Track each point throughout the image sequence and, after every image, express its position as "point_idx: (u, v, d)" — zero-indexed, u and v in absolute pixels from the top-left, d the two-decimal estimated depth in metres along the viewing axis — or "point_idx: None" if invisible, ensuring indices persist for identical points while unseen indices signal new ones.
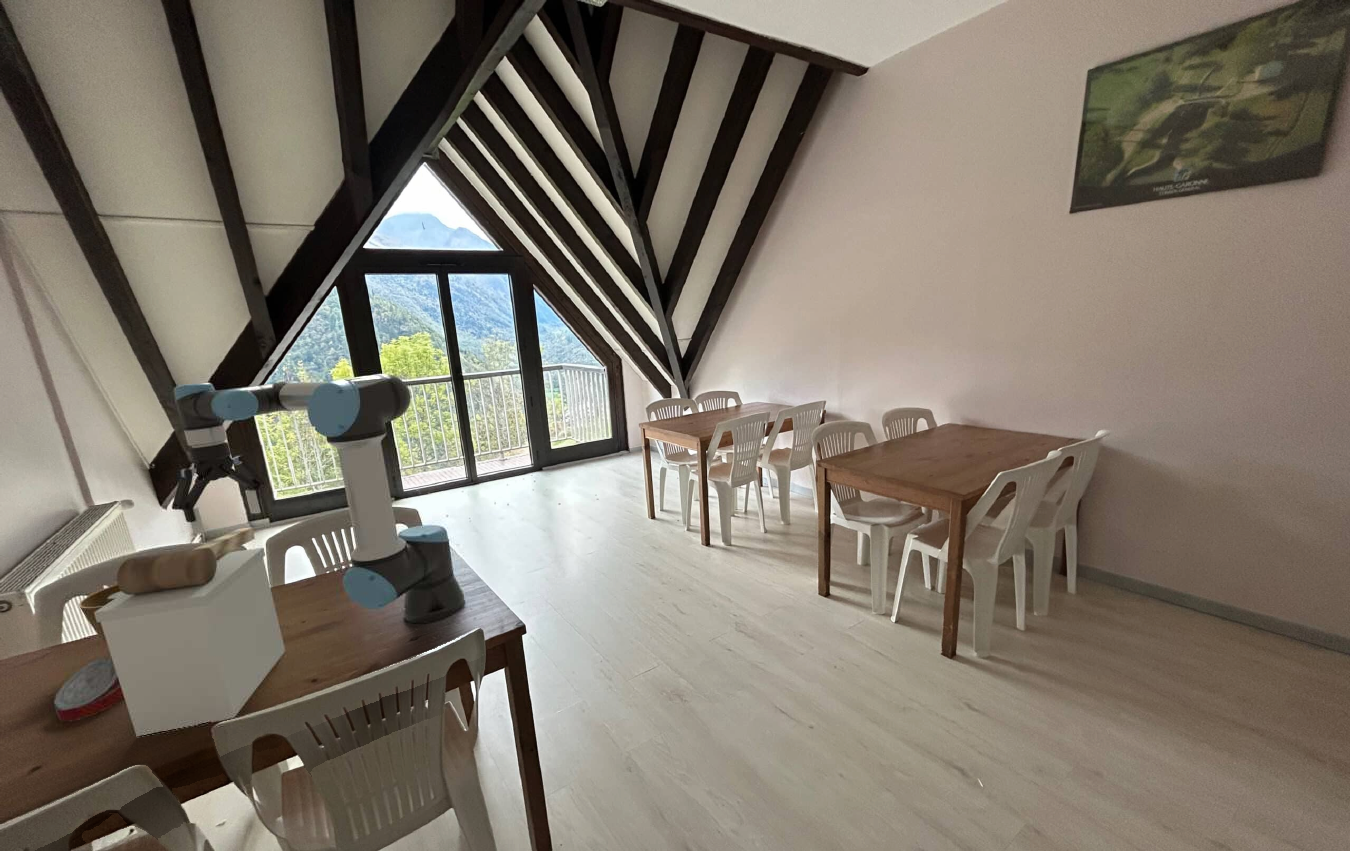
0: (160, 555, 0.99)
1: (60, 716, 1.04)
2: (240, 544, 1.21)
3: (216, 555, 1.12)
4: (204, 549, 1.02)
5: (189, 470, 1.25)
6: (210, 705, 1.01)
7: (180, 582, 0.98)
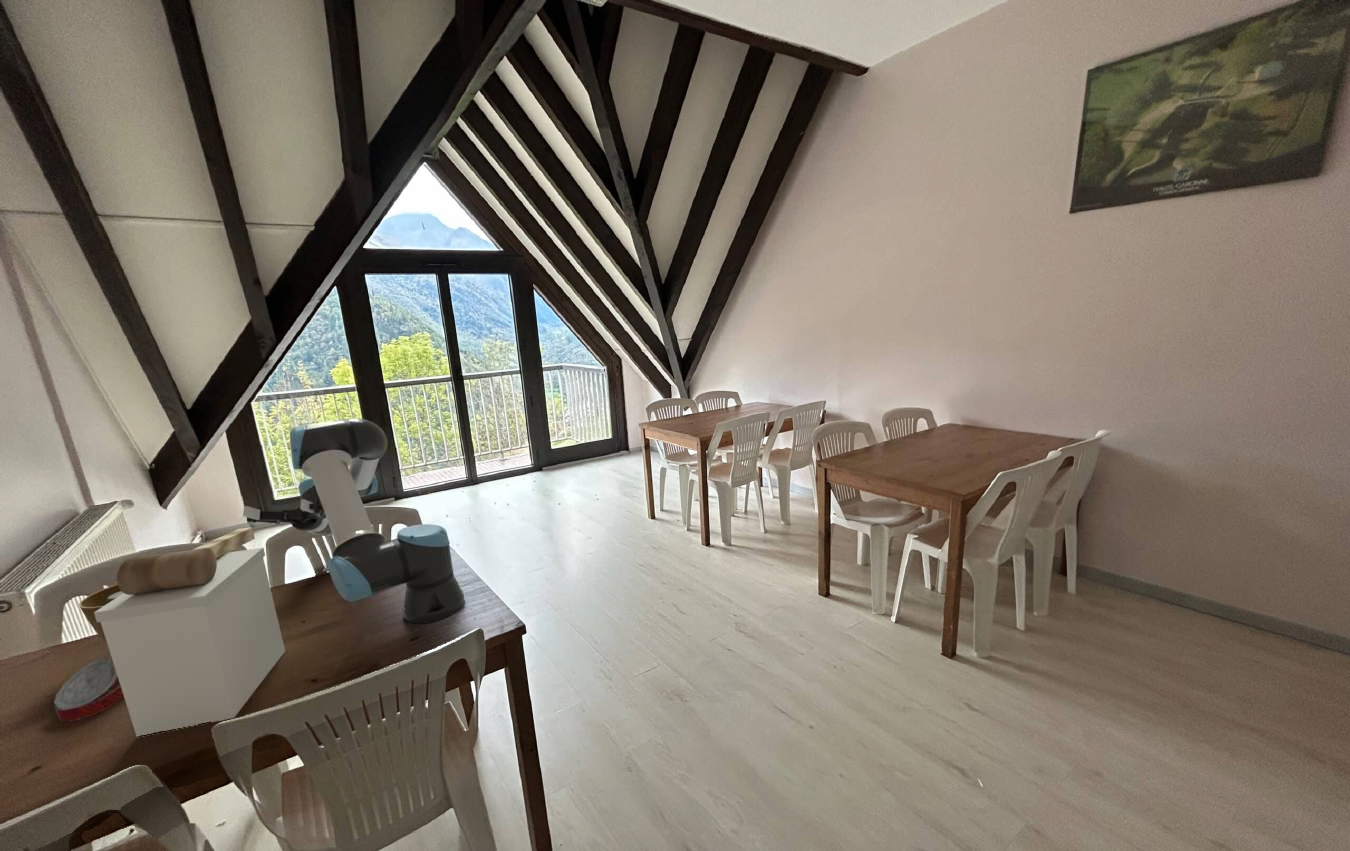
0: (160, 555, 0.99)
1: (60, 716, 1.04)
2: (240, 544, 1.21)
3: (216, 555, 1.12)
4: (204, 549, 1.02)
5: None
6: (210, 705, 1.01)
7: (180, 582, 0.98)
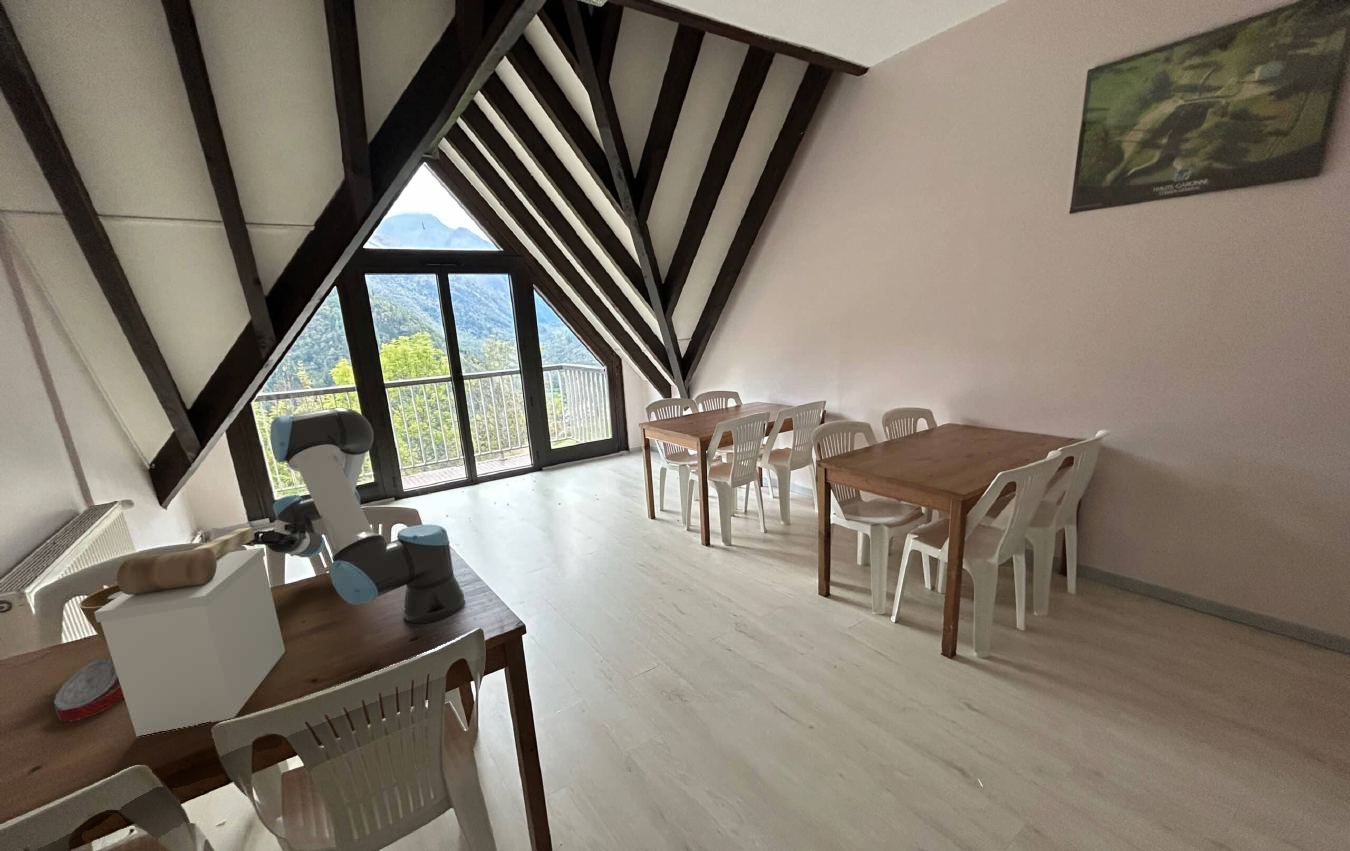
0: (160, 555, 0.99)
1: (60, 716, 1.04)
2: (240, 544, 1.21)
3: (216, 555, 1.12)
4: (204, 549, 1.02)
5: None
6: (210, 705, 1.01)
7: (180, 582, 0.98)
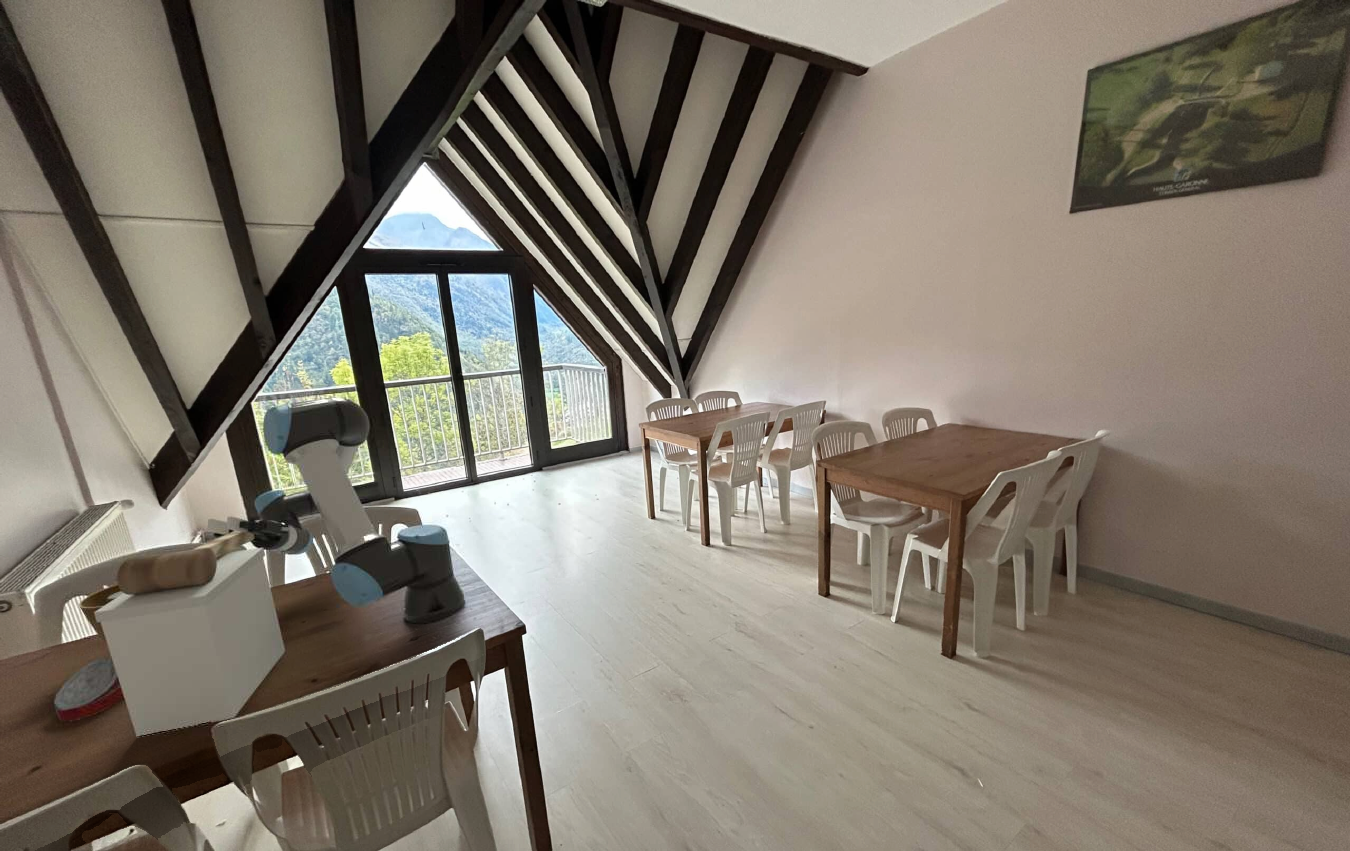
0: (160, 555, 0.99)
1: (60, 716, 1.04)
2: (240, 544, 1.21)
3: (216, 555, 1.12)
4: (204, 549, 1.02)
5: None
6: (210, 705, 1.01)
7: (180, 582, 0.98)
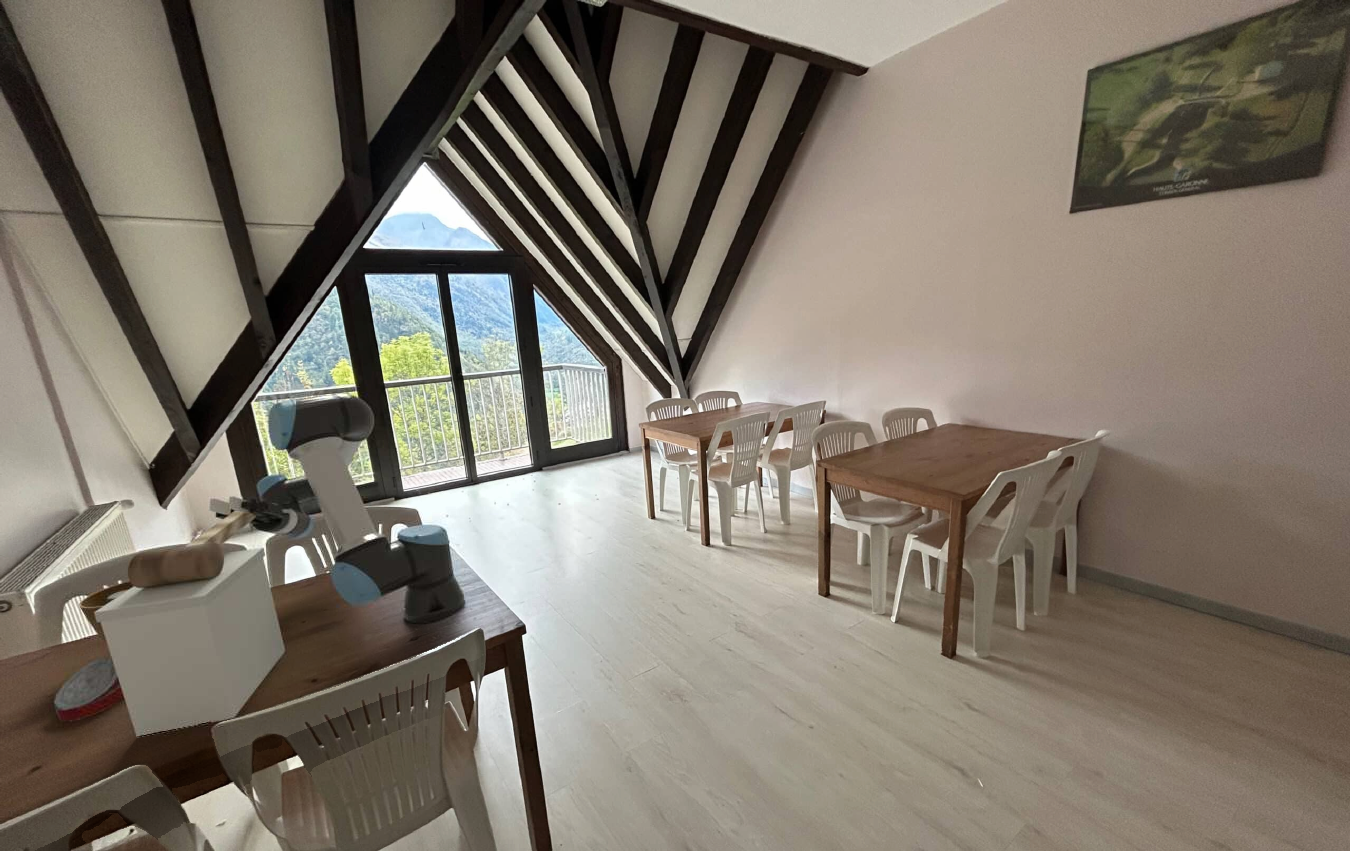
0: (167, 551, 1.01)
1: (60, 716, 1.04)
2: (243, 525, 1.23)
3: (221, 541, 1.14)
4: (210, 544, 1.04)
5: None
6: (210, 705, 1.01)
7: (191, 577, 1.01)
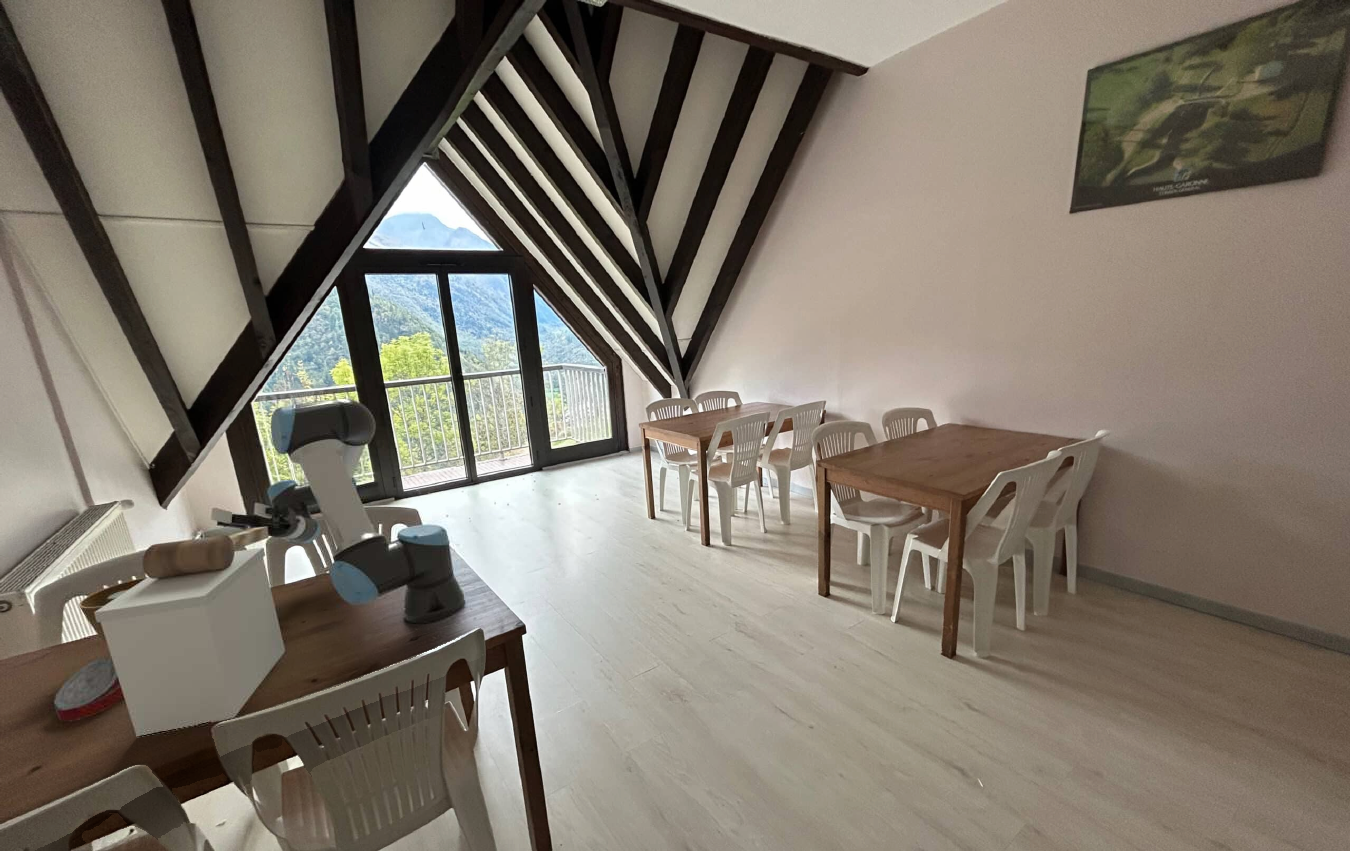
0: (183, 541, 1.06)
1: (60, 716, 1.04)
2: (255, 541, 1.27)
3: (233, 547, 1.18)
4: (224, 536, 1.08)
5: None
6: (210, 705, 1.01)
7: (201, 566, 1.04)
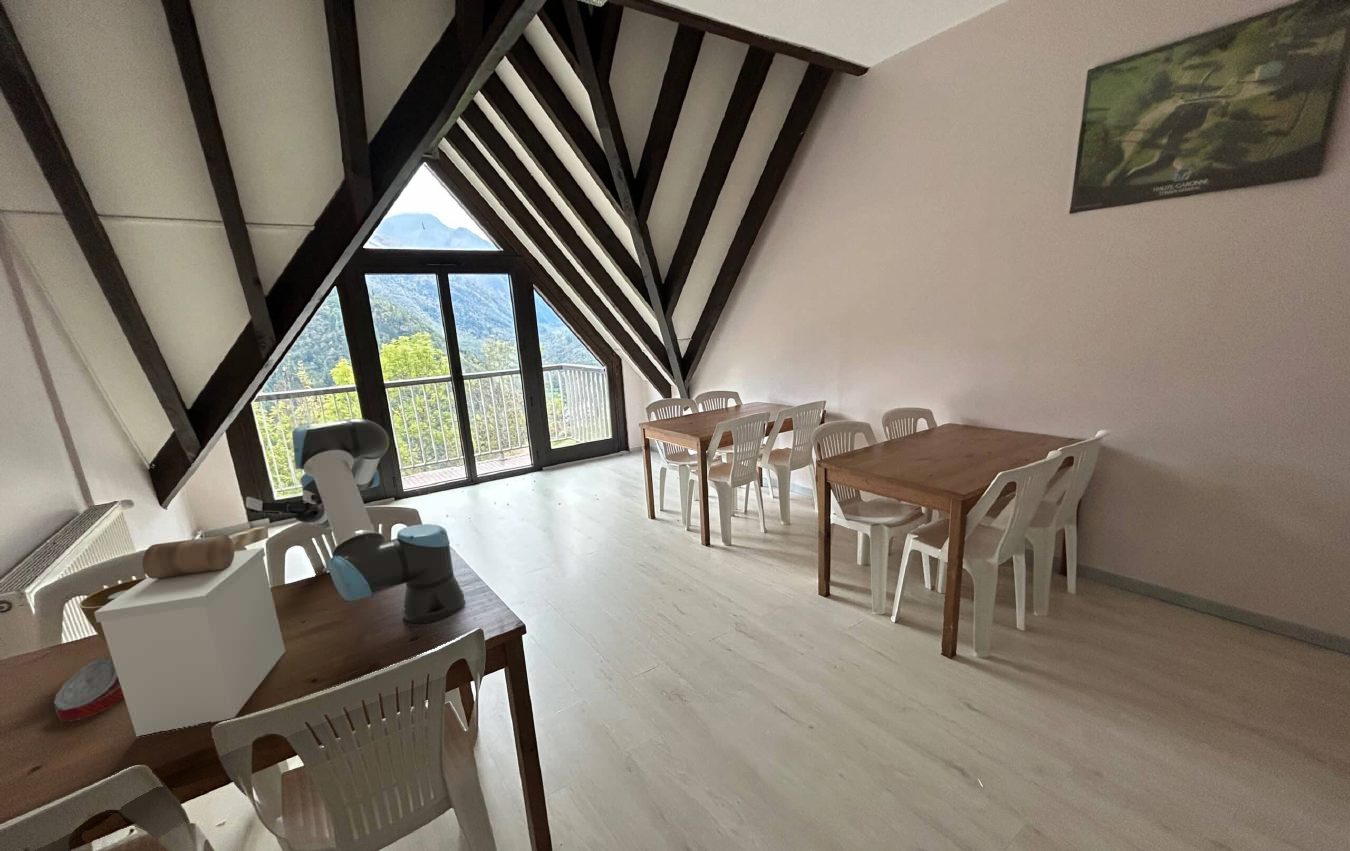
0: (183, 541, 1.06)
1: (60, 716, 1.04)
2: (255, 541, 1.27)
3: (233, 547, 1.18)
4: (224, 536, 1.08)
5: None
6: (210, 705, 1.01)
7: (201, 566, 1.04)
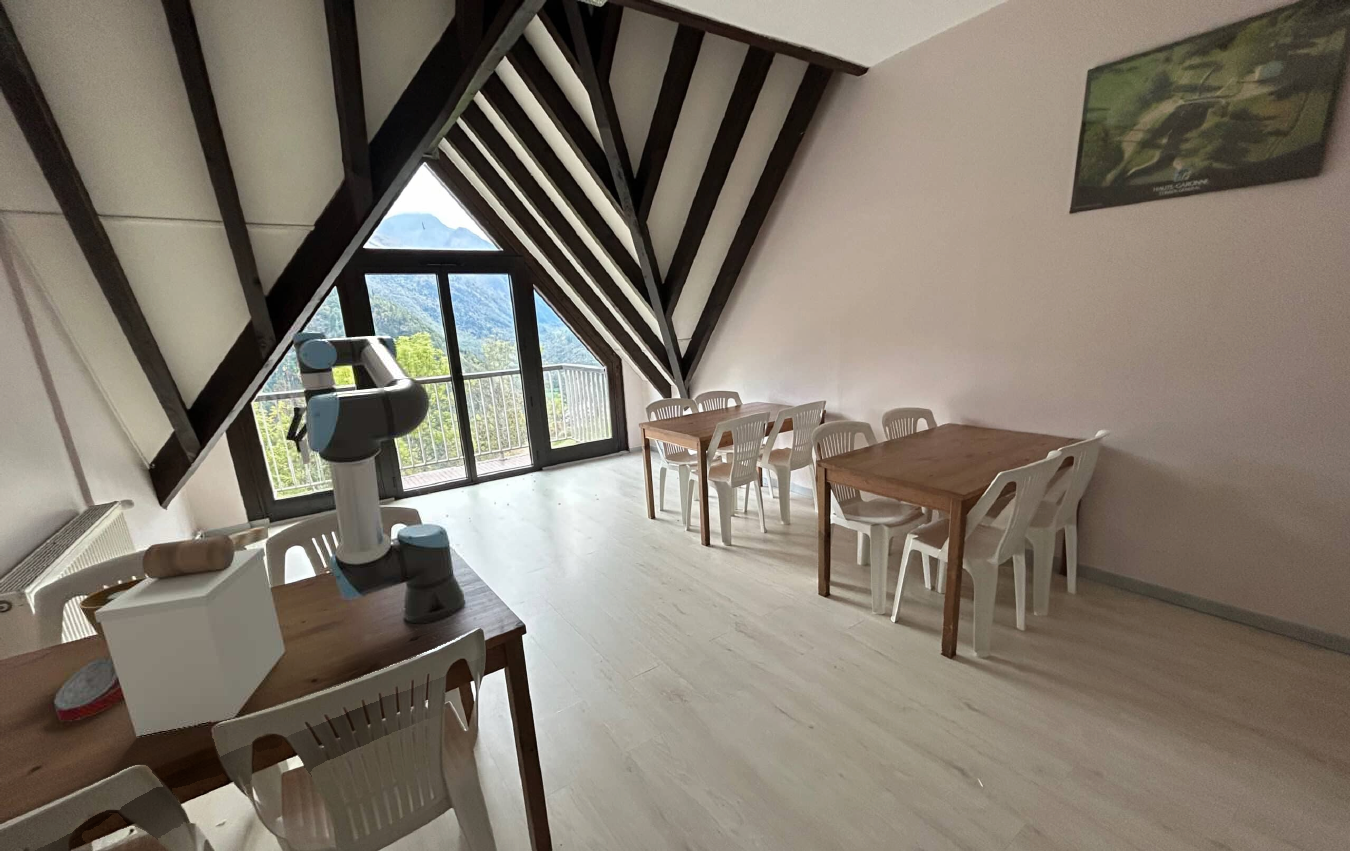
0: (183, 541, 1.06)
1: (60, 716, 1.04)
2: (255, 541, 1.27)
3: (233, 547, 1.18)
4: (224, 536, 1.08)
5: (296, 408, 1.42)
6: (210, 705, 1.01)
7: (201, 566, 1.04)
